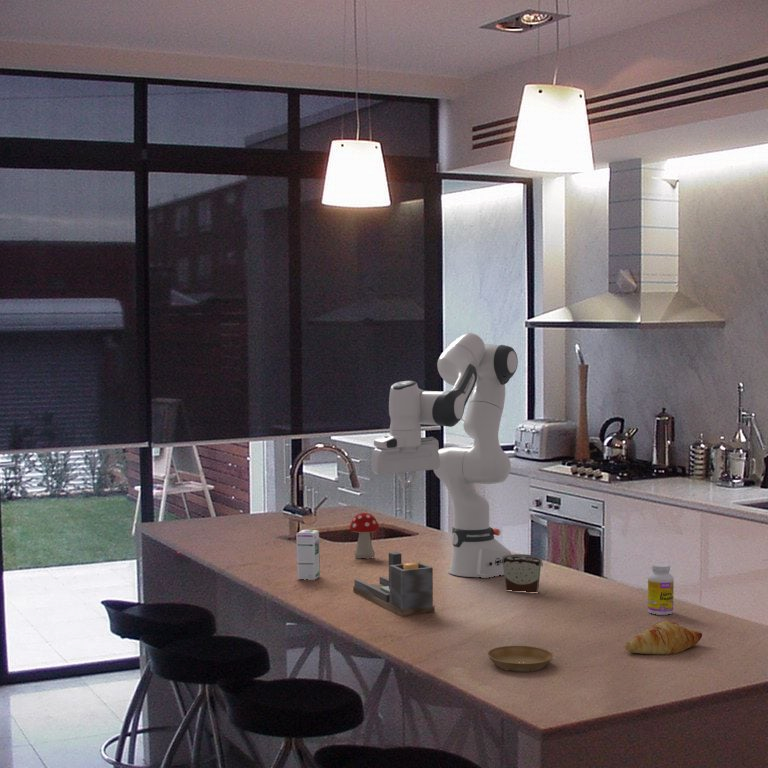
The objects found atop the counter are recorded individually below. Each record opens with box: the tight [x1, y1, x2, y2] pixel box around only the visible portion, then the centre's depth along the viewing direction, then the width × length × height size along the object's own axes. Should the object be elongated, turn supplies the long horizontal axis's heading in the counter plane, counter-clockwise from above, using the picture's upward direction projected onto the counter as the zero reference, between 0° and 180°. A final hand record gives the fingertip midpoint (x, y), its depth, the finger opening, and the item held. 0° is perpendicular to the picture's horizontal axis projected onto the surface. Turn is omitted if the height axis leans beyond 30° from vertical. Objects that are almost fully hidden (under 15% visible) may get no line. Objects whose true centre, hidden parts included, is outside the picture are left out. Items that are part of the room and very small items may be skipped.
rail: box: [352, 562, 435, 617], centre depth 325 cm, size 10×32×12 cm, turn 25°
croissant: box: [624, 620, 703, 655], centre depth 274 cm, size 21×10×8 cm, turn 113°
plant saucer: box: [487, 645, 554, 672], centre depth 263 cm, size 15×15×3 cm
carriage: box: [380, 551, 403, 594], centre depth 323 cm, size 6×8×12 cm
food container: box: [501, 553, 544, 593], centre depth 337 cm, size 12×6×10 cm, turn 65°
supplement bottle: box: [647, 562, 675, 616], centre depth 309 cm, size 7×7×13 cm
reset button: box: [402, 562, 418, 570], centre depth 314 cm, size 4×4×6 cm
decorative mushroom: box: [349, 512, 380, 559], centre depth 387 cm, size 10×9×15 cm
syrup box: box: [295, 529, 321, 581], centre depth 356 cm, size 6×6×14 cm
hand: (407, 487), depth 329 cm, fingers closed
